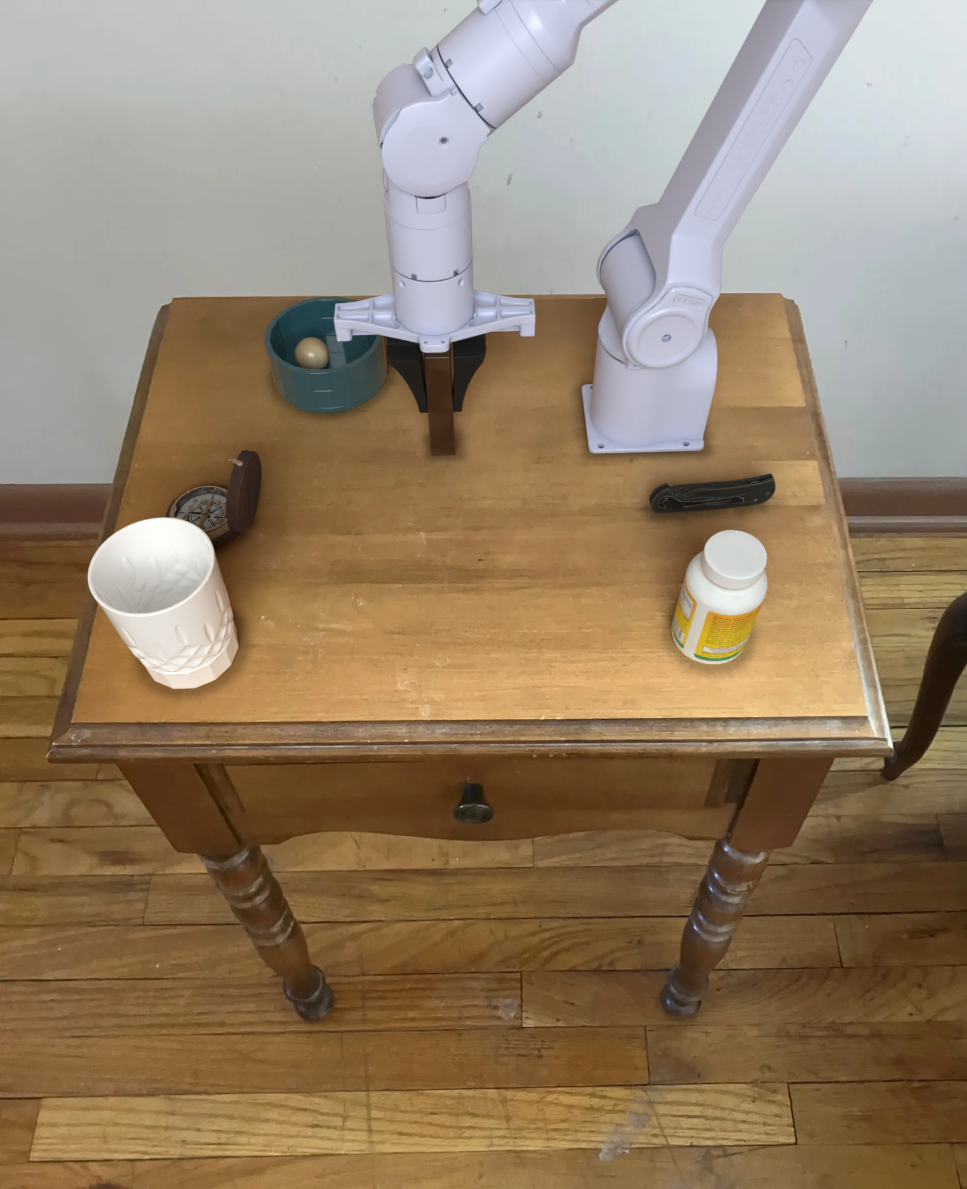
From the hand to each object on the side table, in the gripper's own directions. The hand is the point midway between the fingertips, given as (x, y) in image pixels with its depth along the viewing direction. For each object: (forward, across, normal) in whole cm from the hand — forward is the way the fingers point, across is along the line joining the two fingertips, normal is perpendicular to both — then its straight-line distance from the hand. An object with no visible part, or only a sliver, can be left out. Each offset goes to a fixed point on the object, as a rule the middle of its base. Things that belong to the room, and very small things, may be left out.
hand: (440, 403), depth 78 cm
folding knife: (+4, +21, -8) cm, 23 cm away
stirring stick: (+4, 0, -1) cm, 4 cm away
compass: (+4, -18, -9) cm, 21 cm away
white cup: (+4, -18, -20) cm, 27 cm away
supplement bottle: (+4, +19, -20) cm, 28 cm away
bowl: (+4, -10, +9) cm, 14 cm away
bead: (+2, -11, +10) cm, 15 cm away
